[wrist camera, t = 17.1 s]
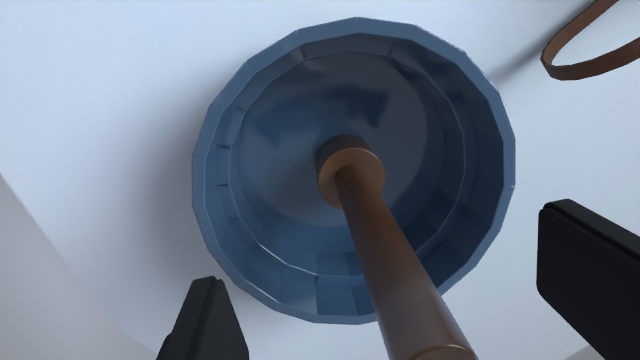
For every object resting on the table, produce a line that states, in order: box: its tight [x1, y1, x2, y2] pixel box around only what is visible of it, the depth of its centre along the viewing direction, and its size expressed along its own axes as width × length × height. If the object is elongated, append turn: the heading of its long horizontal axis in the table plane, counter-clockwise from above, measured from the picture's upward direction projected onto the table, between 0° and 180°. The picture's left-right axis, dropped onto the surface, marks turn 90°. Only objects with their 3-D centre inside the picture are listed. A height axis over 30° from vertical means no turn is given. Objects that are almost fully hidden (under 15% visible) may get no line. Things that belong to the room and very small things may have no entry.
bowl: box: [192, 17, 515, 325], centre depth 19 cm, size 15×15×6 cm
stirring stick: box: [315, 135, 479, 360], centre depth 14 cm, size 4×4×15 cm
